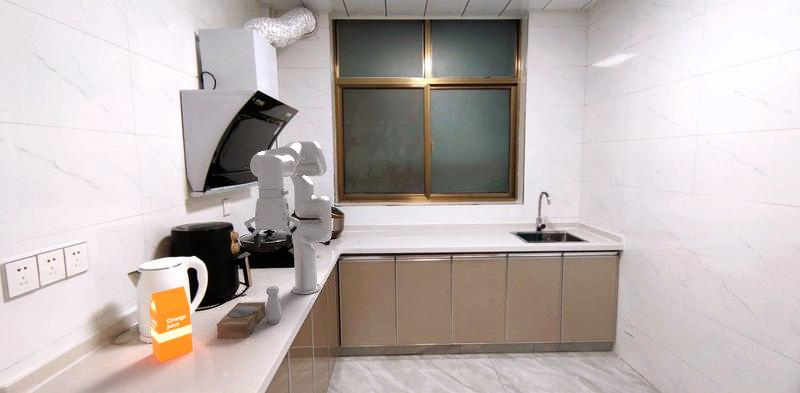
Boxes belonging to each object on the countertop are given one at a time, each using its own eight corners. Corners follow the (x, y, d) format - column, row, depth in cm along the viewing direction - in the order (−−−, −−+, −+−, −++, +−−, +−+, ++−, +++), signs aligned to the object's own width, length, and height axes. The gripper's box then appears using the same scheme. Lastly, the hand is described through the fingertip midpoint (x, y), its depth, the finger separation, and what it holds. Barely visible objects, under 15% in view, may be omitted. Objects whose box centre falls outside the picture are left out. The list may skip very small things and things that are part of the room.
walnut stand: (239, 315, 140) (238, 301, 140) (265, 314, 141) (264, 300, 140) (217, 338, 122) (216, 322, 122) (248, 337, 123) (247, 322, 122)
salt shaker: (276, 316, 139) (275, 283, 138) (285, 320, 135) (284, 286, 134) (262, 322, 134) (260, 287, 133) (271, 326, 131) (269, 291, 129)
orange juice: (193, 350, 115) (188, 288, 113) (160, 362, 108) (155, 297, 106) (184, 342, 120) (179, 283, 118) (152, 353, 113) (147, 290, 111)
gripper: (301, 192, 121) (303, 243, 123) (247, 193, 120) (250, 244, 122) (296, 195, 114) (298, 249, 116) (239, 195, 113) (242, 250, 115)
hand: (273, 246), depth 119 cm, fingers open, 9 cm apart
